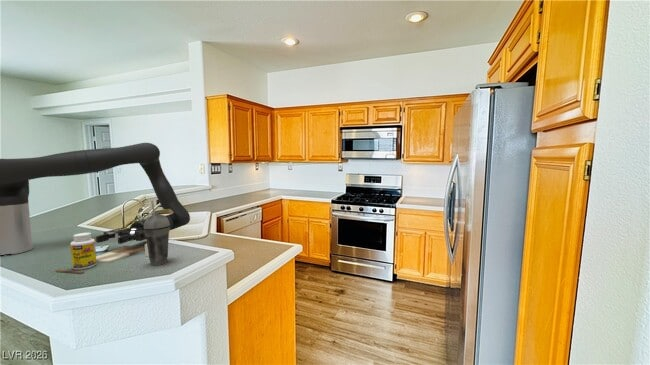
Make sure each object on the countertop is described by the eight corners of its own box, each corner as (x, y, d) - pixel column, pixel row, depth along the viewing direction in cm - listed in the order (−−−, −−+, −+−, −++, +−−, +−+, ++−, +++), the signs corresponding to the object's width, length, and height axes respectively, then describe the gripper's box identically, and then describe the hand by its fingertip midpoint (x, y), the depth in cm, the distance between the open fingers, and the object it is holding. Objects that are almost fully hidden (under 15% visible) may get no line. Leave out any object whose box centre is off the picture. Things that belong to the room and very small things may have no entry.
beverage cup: (177, 260, 86) (174, 199, 85) (156, 268, 80) (153, 202, 78) (160, 257, 89) (157, 198, 87) (139, 265, 82) (135, 201, 80)
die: (145, 256, 90) (144, 243, 90) (150, 252, 94) (150, 240, 94) (158, 255, 91) (157, 243, 90) (163, 251, 95) (162, 239, 94)
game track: (55, 271, 77) (55, 269, 77) (125, 247, 100) (125, 245, 100) (81, 273, 76) (81, 271, 76) (146, 248, 98) (146, 247, 98)
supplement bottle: (70, 272, 77) (67, 237, 77) (74, 266, 82) (72, 233, 81) (95, 267, 80) (92, 234, 80) (98, 262, 85) (95, 230, 84)
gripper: (131, 218, 105) (88, 228, 89) (163, 219, 103) (125, 230, 87) (132, 237, 106) (90, 250, 90) (164, 238, 103) (126, 252, 87)
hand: (107, 240), depth 88 cm, fingers open, 8 cm apart
